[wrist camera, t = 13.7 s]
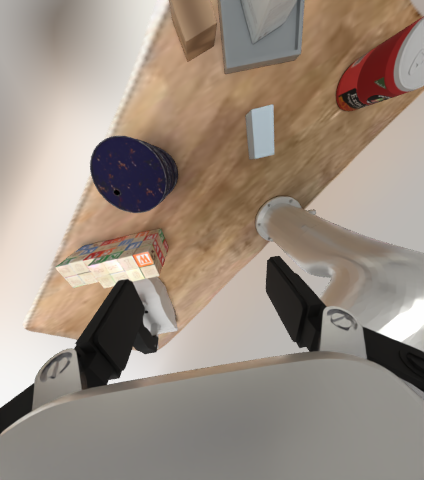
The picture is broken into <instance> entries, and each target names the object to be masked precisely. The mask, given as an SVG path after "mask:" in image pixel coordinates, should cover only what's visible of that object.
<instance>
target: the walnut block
mask: <svg viewBox="0 0 424 480" xmlns="http://www.w3.org/2000/svg"><path fill="white" fill-rule="evenodd" d="M169 3H170V9H171V14H172V20H173V23H174V26H175V29H176V32H177V34H178V37H179V40H180V42H181V45H182V48H183V51H184V53H185V56H186V59H187V62H189V61H190V60H192V59H193V58H195V57H197V56H198V55H200V54H202V53H203V52H205V51H207V50H208V49H210V48H212V47H213V46H214V40H215V33H216V26H217V21H216V17H215V14H214V10H213V6H212V3H211V0H169Z"/></svg>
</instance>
